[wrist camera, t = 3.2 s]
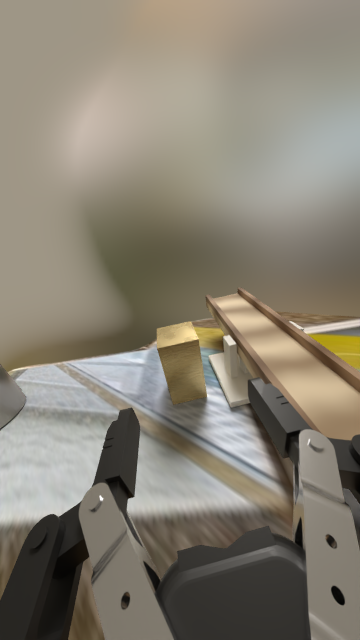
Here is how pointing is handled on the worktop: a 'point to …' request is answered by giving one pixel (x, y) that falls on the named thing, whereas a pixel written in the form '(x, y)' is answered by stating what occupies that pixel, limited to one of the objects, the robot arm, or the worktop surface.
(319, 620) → the robot arm
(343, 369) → the balance beam
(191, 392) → the block
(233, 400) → the beam stand
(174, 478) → the worktop surface
